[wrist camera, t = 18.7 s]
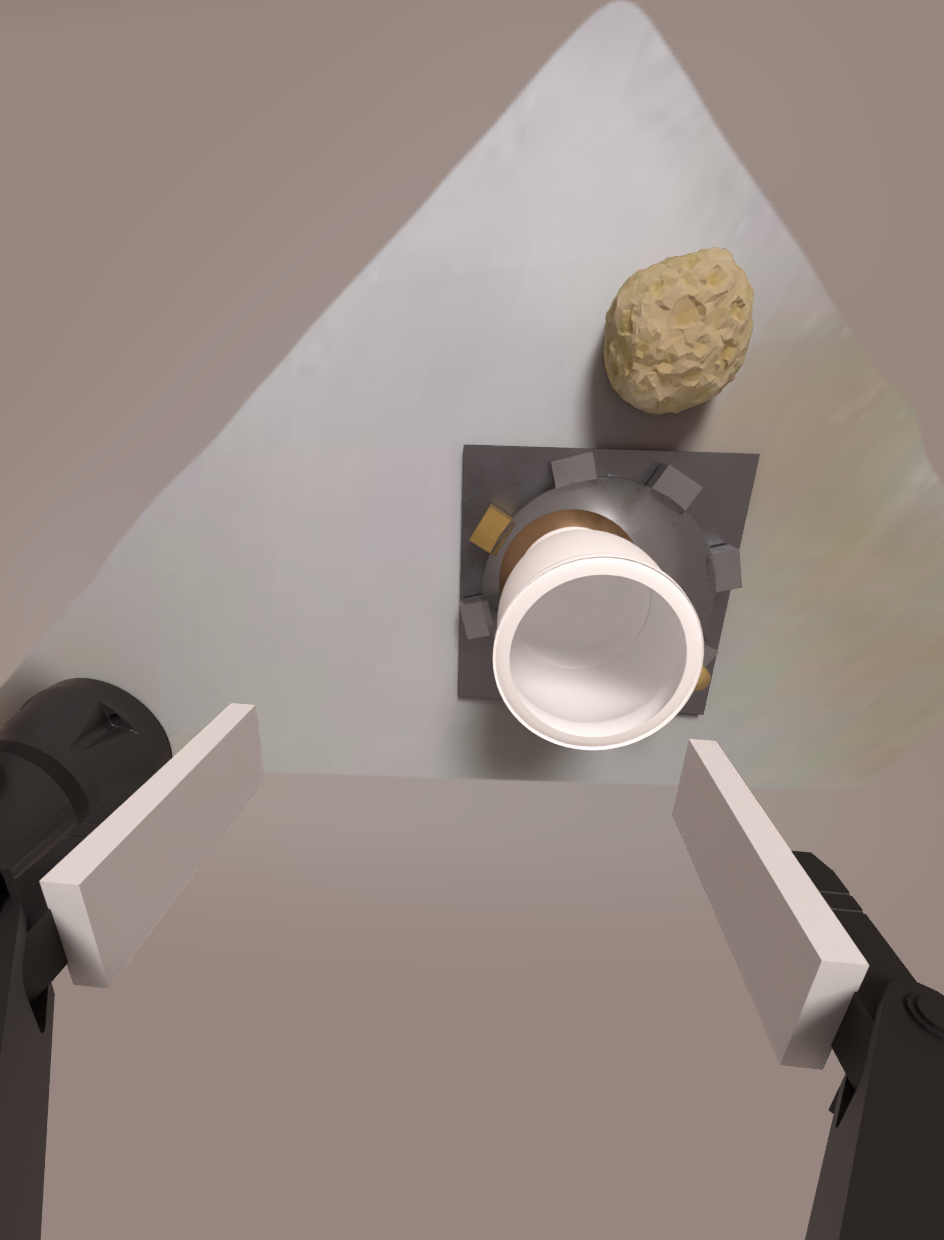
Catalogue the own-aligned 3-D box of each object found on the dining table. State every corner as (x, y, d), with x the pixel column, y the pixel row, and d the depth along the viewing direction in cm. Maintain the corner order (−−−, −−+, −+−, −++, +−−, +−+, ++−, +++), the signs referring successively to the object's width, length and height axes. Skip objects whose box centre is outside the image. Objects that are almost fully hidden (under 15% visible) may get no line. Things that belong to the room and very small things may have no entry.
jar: (614, 656, 40) (663, 771, 26) (490, 627, 40) (472, 726, 26) (658, 528, 37) (741, 582, 22) (521, 498, 37) (519, 533, 23)
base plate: (464, 444, 39) (463, 444, 38) (755, 453, 37) (760, 454, 36) (459, 692, 47) (457, 697, 46) (700, 710, 45) (704, 715, 44)
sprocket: (417, 624, 44) (394, 662, 36) (558, 393, 36) (567, 381, 29) (618, 745, 46) (637, 805, 38) (791, 550, 38) (856, 576, 31)
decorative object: (696, 283, 37) (674, 171, 28) (790, 368, 34) (796, 270, 25) (595, 379, 41) (549, 305, 32) (670, 465, 37) (640, 407, 29)
